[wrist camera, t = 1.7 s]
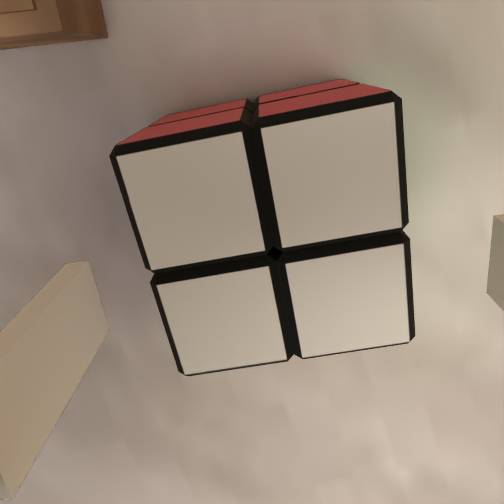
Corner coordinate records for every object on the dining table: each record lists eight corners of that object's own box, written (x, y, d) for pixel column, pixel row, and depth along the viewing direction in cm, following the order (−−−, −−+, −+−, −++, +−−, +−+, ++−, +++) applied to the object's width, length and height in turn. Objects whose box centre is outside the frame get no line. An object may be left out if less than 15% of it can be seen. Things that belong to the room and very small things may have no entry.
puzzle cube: (162, 115, 24) (102, 148, 15) (346, 77, 23) (404, 87, 14) (205, 276, 28) (179, 383, 19) (364, 249, 27) (419, 347, 18)
